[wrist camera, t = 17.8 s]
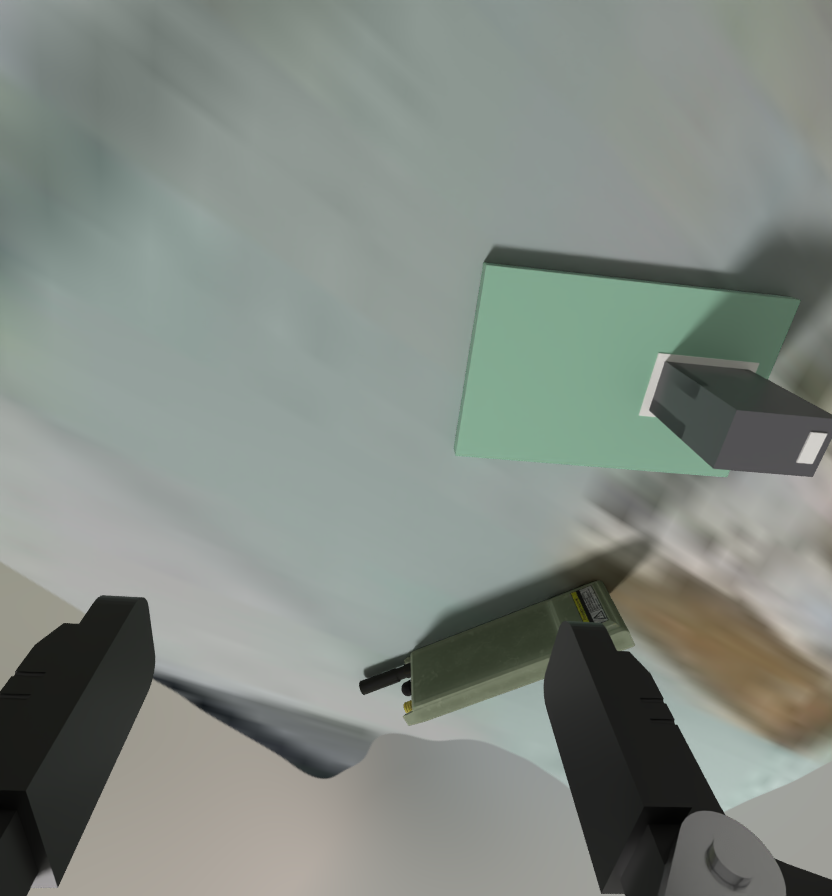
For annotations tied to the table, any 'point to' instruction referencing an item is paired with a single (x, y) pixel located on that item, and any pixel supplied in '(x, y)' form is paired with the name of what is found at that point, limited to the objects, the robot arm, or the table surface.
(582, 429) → the pale green flat block
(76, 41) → the table surface
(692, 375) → the block
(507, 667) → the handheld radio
